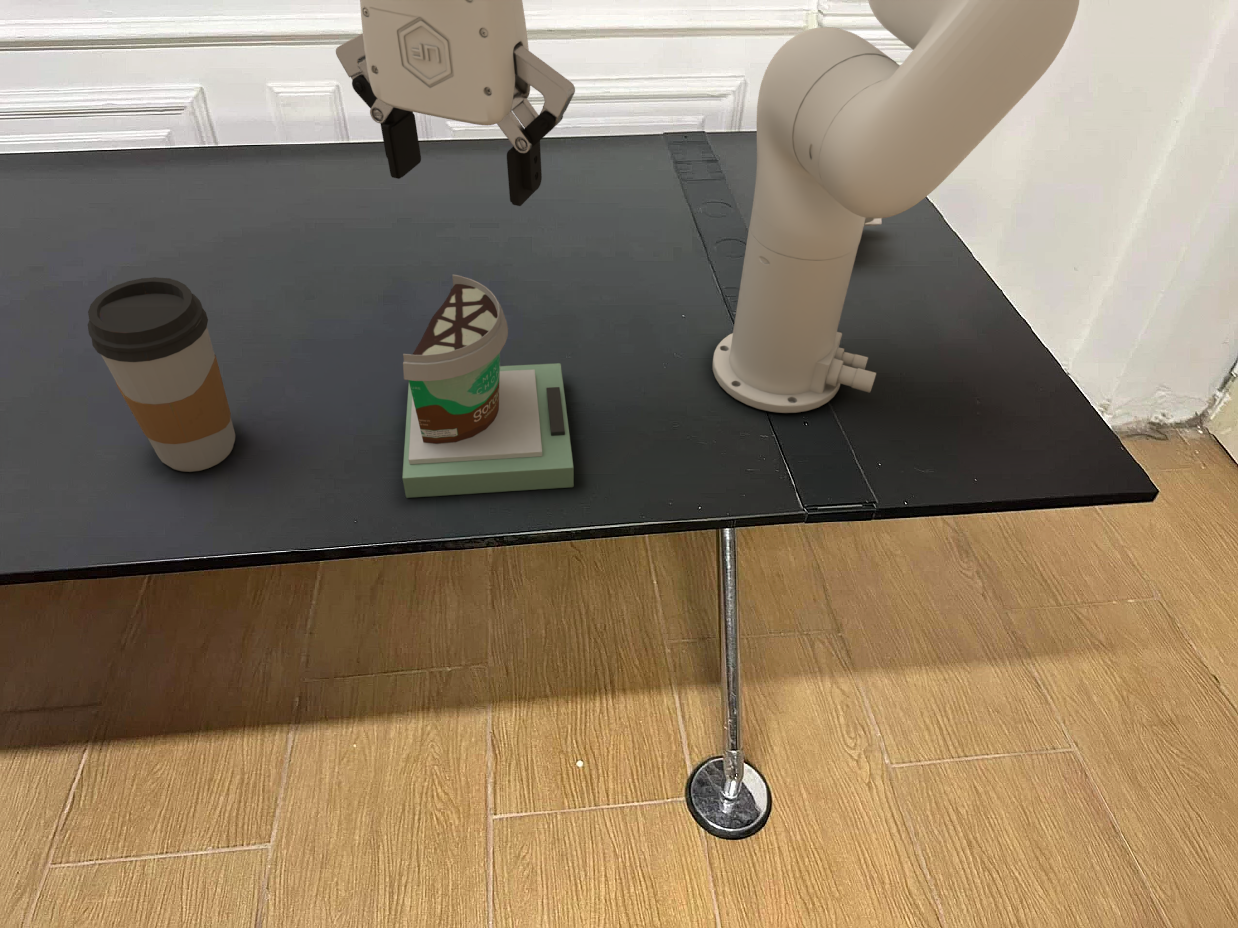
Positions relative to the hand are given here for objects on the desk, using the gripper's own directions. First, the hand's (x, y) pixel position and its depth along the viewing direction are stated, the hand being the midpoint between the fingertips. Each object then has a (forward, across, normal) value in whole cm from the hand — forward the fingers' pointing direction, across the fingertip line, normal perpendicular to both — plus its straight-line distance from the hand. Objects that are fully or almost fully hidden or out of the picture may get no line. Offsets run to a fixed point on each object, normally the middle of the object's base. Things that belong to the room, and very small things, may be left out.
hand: (464, 183), depth 65 cm
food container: (+21, 0, -2) cm, 21 cm away
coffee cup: (+23, -22, -13) cm, 34 cm away
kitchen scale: (+24, 0, -1) cm, 24 cm away
